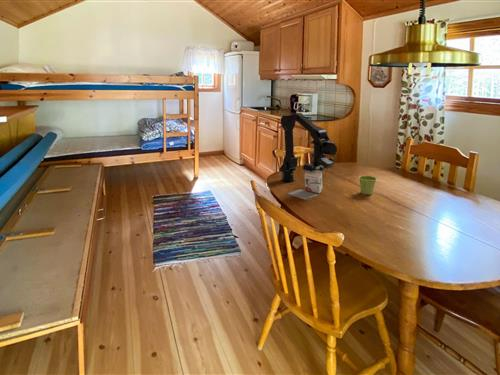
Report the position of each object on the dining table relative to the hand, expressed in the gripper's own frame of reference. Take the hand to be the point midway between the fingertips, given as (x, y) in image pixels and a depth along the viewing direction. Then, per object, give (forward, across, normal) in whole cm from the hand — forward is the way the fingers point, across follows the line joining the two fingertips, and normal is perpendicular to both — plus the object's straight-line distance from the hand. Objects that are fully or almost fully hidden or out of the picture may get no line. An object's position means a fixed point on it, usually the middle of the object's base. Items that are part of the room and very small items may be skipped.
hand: (317, 179), depth 204 cm
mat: (+6, -12, 0) cm, 13 cm away
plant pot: (+6, +16, -21) cm, 27 cm away
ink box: (+5, -3, 0) cm, 6 cm away
